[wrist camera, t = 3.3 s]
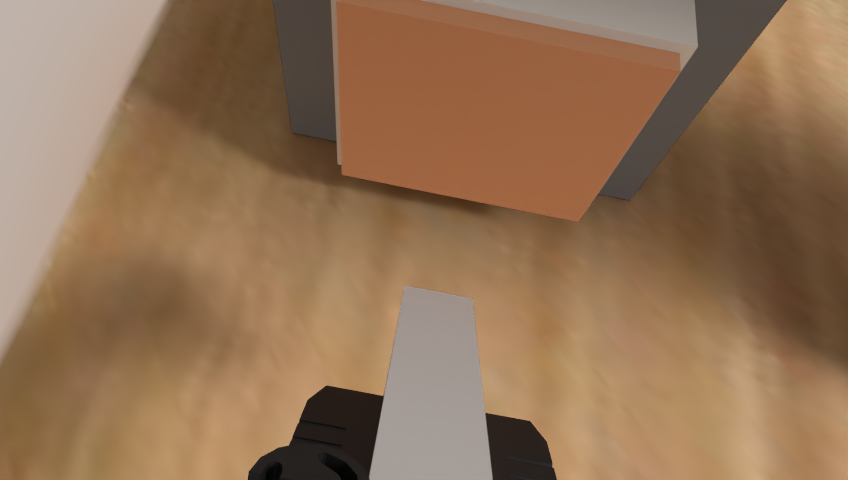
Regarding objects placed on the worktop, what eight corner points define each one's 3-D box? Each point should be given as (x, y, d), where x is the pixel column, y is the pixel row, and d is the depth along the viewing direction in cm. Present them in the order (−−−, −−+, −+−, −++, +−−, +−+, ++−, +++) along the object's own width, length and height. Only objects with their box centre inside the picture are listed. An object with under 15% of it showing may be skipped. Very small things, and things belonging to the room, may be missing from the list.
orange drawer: (379, 20, 25) (389, -192, 18) (591, 63, 25) (684, -130, 18) (333, 177, 21) (323, -12, 14) (583, 227, 21) (699, 64, 14)
